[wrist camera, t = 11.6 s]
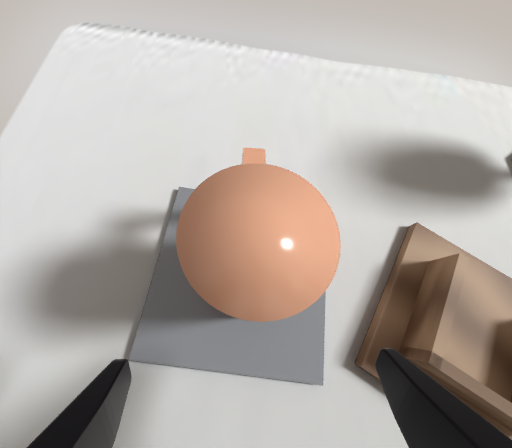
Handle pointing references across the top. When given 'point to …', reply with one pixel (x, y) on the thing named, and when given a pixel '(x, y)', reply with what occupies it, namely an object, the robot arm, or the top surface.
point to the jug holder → (448, 323)
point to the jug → (258, 241)
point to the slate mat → (222, 327)
